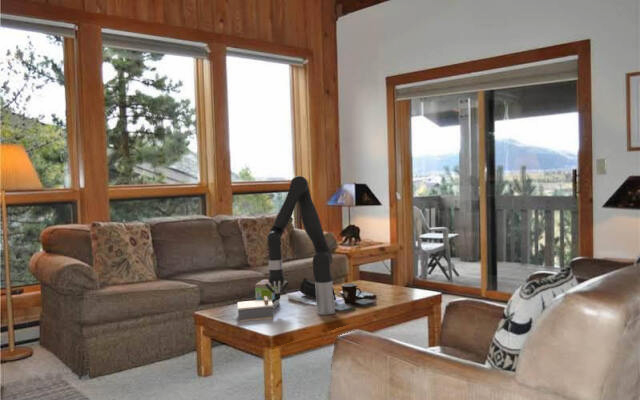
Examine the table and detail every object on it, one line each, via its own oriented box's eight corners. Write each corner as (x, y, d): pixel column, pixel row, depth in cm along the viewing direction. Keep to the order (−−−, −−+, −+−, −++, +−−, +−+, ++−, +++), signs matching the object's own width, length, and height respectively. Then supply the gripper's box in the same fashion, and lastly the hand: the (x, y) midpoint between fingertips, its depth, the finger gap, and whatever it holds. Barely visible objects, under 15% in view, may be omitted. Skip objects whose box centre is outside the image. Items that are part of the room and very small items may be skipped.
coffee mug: (340, 301, 323) (339, 284, 322) (353, 299, 326) (352, 282, 326) (349, 305, 312) (348, 288, 311) (362, 303, 315) (361, 286, 315)
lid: (271, 300, 308) (270, 294, 307) (273, 306, 293) (272, 300, 293) (237, 303, 305) (237, 297, 304) (238, 309, 290) (237, 303, 290)
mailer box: (271, 311, 308) (270, 301, 307) (273, 318, 294) (272, 307, 294) (238, 314, 305) (237, 304, 305) (239, 321, 291) (238, 310, 291)
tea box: (272, 310, 311) (271, 284, 310) (255, 310, 313) (254, 284, 312) (280, 303, 326) (278, 278, 325) (263, 303, 328) (262, 278, 327)
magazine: (338, 287, 320) (306, 267, 341) (334, 288, 318) (302, 268, 339) (334, 314, 324) (303, 292, 346) (329, 315, 322) (299, 293, 344)
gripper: (263, 270, 295) (265, 302, 296) (288, 268, 297) (290, 300, 298) (263, 267, 303) (264, 299, 304) (287, 265, 305) (289, 297, 306)
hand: (277, 299), depth 301 cm, fingers closed
